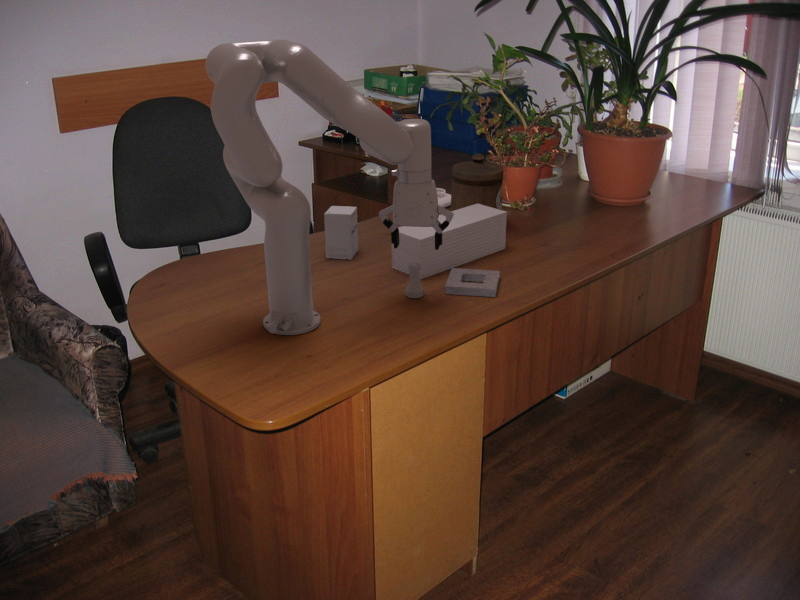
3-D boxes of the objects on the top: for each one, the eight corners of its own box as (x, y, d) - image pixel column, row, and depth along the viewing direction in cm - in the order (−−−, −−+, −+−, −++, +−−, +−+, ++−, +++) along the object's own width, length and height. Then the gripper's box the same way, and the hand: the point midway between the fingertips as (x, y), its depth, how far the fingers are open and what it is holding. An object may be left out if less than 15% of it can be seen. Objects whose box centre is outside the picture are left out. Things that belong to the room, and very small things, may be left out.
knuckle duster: (427, 216, 252) (392, 207, 261) (463, 203, 264) (428, 195, 273) (427, 206, 251) (391, 197, 260) (463, 193, 263) (428, 185, 272)
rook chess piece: (413, 290, 198) (412, 259, 195) (427, 294, 196) (427, 263, 193) (401, 296, 195) (401, 264, 192) (416, 300, 193) (416, 269, 189)
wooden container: (510, 232, 237) (513, 157, 228) (463, 239, 232) (465, 162, 223) (486, 217, 249) (489, 145, 241) (442, 223, 245) (442, 150, 236)
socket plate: (495, 297, 194) (495, 289, 193) (444, 294, 196) (445, 286, 195) (499, 278, 205) (499, 270, 204) (451, 275, 207) (451, 267, 206)
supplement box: (352, 260, 217) (350, 214, 212) (325, 258, 219) (323, 213, 214) (359, 250, 224) (357, 206, 219) (332, 249, 225) (330, 204, 220)
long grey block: (420, 280, 205) (420, 239, 200) (391, 269, 212) (391, 229, 208) (505, 249, 224) (506, 211, 220) (476, 240, 232) (477, 203, 227)
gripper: (373, 179, 182) (377, 251, 189) (451, 181, 179) (451, 254, 186) (380, 170, 189) (384, 240, 196) (455, 171, 186) (456, 242, 193)
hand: (417, 247), depth 191 cm, fingers open, 9 cm apart
